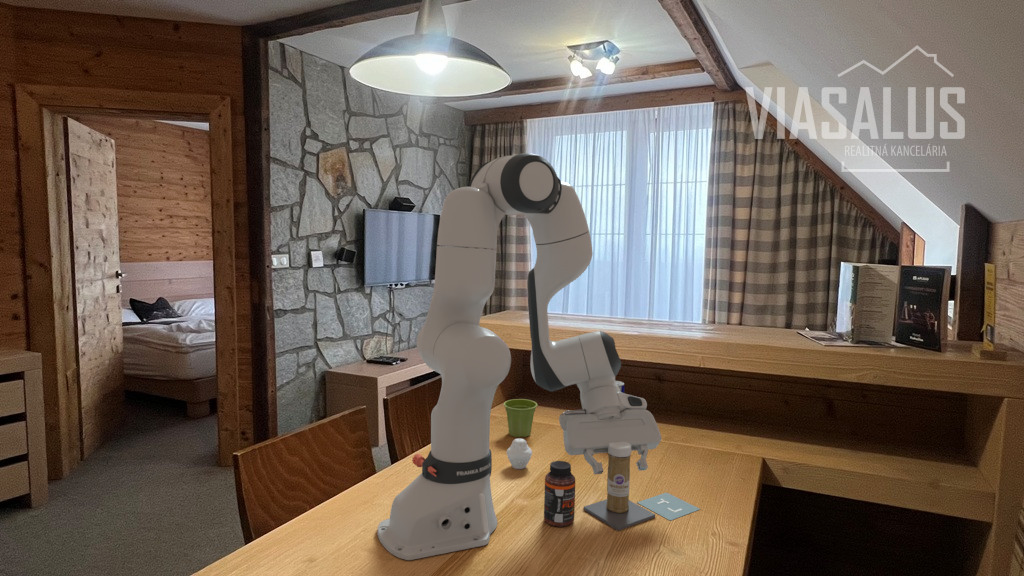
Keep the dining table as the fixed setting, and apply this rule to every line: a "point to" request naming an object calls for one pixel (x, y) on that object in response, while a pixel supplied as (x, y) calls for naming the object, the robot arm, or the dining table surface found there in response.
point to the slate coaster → (619, 515)
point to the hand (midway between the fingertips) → (621, 471)
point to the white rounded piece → (519, 453)
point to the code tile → (668, 506)
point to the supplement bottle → (559, 495)
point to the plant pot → (520, 416)
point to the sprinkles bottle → (618, 476)
